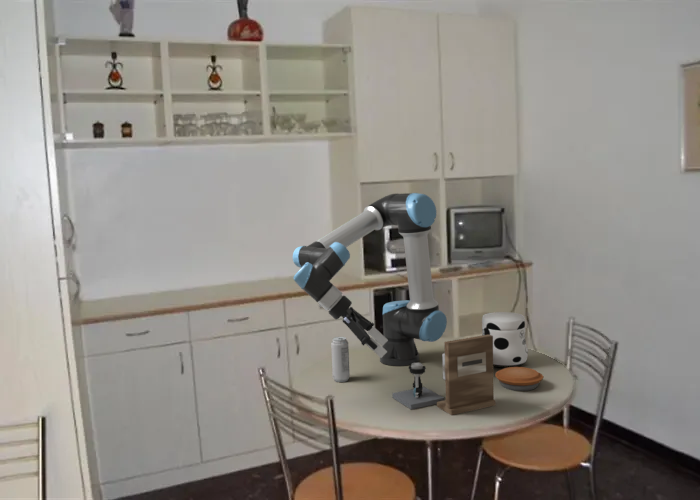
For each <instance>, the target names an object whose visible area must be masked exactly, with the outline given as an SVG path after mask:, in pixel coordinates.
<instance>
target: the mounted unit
mask: <svg viewBox="0 0 700 500" xmlns="http://www.w3.org/2000/svg"><path fill="white" fill-rule="evenodd" d="M442 379H443V380H444V381H445V399H444V401H439V402H437V404H436V408H439V409H440V410H442V411H444V412H446V413H447V414H449V416H450V415H451V416H454V415H459V414H463V413H467V412H471V411H476V410H477V411H478V410H481V409H484V408H489V407H494V406H496V405H497V403H496V401H497V400H496V399H494V397H495V396H494V395H495V394H494V391H495V390H494V366H493V336H492V335H483V336H482V335H477V336H472V337H466V338H460V339H453V340H447V341H444V353H442Z"/></svg>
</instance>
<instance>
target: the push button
mask: <svg viewBox="0 0 700 500" xmlns="http://www.w3.org/2000/svg"><path fill="white" fill-rule="evenodd" d="M426 369H427V368H426V366H425V365H424V364H423V363H421V362H417V363H412V364H411V365H408V370H409V373H410V374H412V375H414V380H413V382H412V389H413V394H414V397H415V398H418V397H420V395H421V393H422V395H423V389H422V387H424V385H423V382H422V379H421V376H422V375H424V374H425V373H426Z"/></svg>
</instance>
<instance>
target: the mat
mask: <svg viewBox="0 0 700 500" xmlns="http://www.w3.org/2000/svg"><path fill="white" fill-rule="evenodd" d="M413 389H414V388H411V389H406V390H401V391H397V392H392V394H391V395H392V397H391V398H392V399H394V400H395V401H397V402H399V403H400V404H402V405H403V406H405V407H407V408H409V409H410V410H414V409H420V408H423V407H424V408H425V407H428V406H434V405H437V402H439V401H444V400H445V397H444V396H443V395H440V394H438V393H436V392H434V391H433V390H432V389H429V388H428V387H425V386H423V387H422V389H423V395H422V393H421V395H420V397H418V398H415V397H414V394H413Z"/></svg>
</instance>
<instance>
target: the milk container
mask: <svg viewBox="0 0 700 500" xmlns="http://www.w3.org/2000/svg"><path fill="white" fill-rule="evenodd" d="M483 335H492V336H493V367H499V368H508V367H520V366H522V365H523V364H525V363H526V362H527V359H528V355H529V350H528V349H529V348H528V345H527V342H526V341H527V340H526V318H525V315H523V314H522V313H517V312H512V311H511V312H510V311H495V312H494V311H493V312H488V313H485V314H483V315H482V318H481V336H483Z"/></svg>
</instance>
